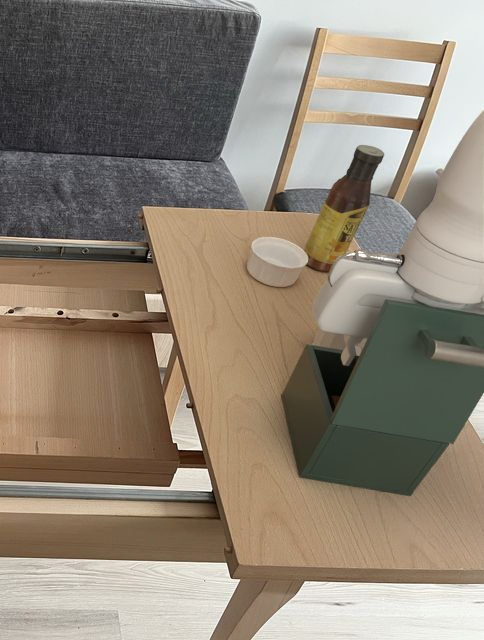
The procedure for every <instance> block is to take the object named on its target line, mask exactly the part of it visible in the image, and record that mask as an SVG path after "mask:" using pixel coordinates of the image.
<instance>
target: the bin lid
mask: <svg viewBox="0 0 484 640" xmlns="http://www.w3.org/2000/svg"><path fill="white" fill-rule="evenodd" d="M483 395H484V315H483V314H476V313H470V312H464V311H457V310H451V309H445V308H438V307H432V306H426V305H419V304H413V303H407V302H400V301H394V300H388V299H385V301H384V303H383V306H382V308H381V310H380V312H379V314H378V317H377V319H376V321H375V323H374V325H373V327H372V330H371V332H370V334H369V336H368V338H367V340H366V343H365V345H364V347H363V349H362V351H361V354H360V356H359V358H358V360H357V362H356V364H355V367H354V369H353V371H352V373H351V375H350V377H349V380H348V382H347V384H346V386H345V388H344V391H343V393H342V395H341V397H340V399H339V401H338V404H337V406H336V408H335V410H334V412H333V414H332V417H331V419H330V420H331V423H332V424H336V425H342V426H348V427H354V428H360V429H366V430H372V431H378V432H384V433H390V434H396V435H402V436H408V437H414V438H420V439H426V440H432V441H438V442H444V443H449V445H454V444H455V442H456V440H457V438H458V437H459V435H460V433H461V432H462V430H463V429H464V427H465V425H466V424H467V422H468V421H469V418H470V417H471V415H472V414H473V412H474V410H475V408H476V407H477V405H478V403H479V402H480V401H481V398H482V397H483Z"/></svg>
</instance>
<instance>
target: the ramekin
mask: <svg viewBox="0 0 484 640" xmlns="http://www.w3.org/2000/svg"><path fill="white" fill-rule="evenodd" d="M304 250H305V249H303V248H302V247H300V246H299V245H298V244H295V243H294V242H292V241H289V240H287V239H284V238H281V237H277V236H275V237H274V236H262V237H261V236H260V237H258V238H257V237H256V238H255V239H254V240H253V241H252V242H251V244H250V252H249V255H248V259H247V263H246V269H247V272H248V274H249V275H250V276H251V277H252V278H253V279H255V280H256V281H258V282H260V283H261V284H264V285H266V286H269V287H277V288H285V287H290V286H292V285H294V284H295V283H296V281H297V280H298V278H299V276H300V274H301V273H302V271H303V269H304V268H305V267H306V265H307V263H308V256H307V254H306V252H305V251H304Z"/></svg>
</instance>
